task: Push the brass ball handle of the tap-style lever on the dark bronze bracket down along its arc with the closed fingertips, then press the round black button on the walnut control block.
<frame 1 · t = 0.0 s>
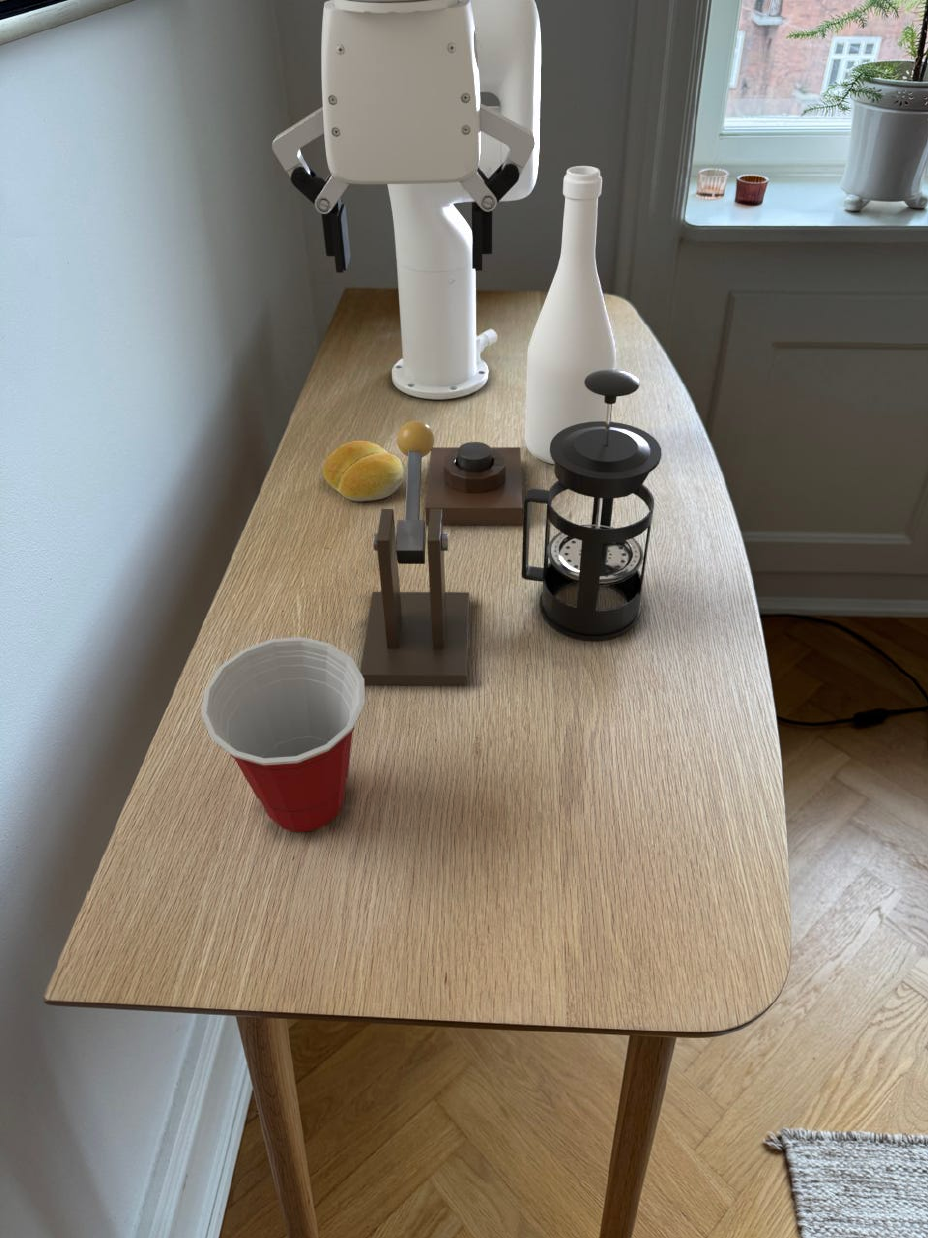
hand: (410, 264, 66), 31 cm above the table, tool pointing down, fingers open, 9 cm apart
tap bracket: (417, 641, 82), on the table
wine bottle: (565, 448, 106), on the table
tap lever: (413, 488, 76), point 13 cm above the table, hinge at 25.0°
button: (474, 457, 96), point 4 cm above the table, slide at 0.1 cm
bread roll: (364, 483, 102), on the table
plastic cup: (306, 805, 68), on the table
button block: (475, 493, 99), on the table
french press: (584, 608, 85), on the table
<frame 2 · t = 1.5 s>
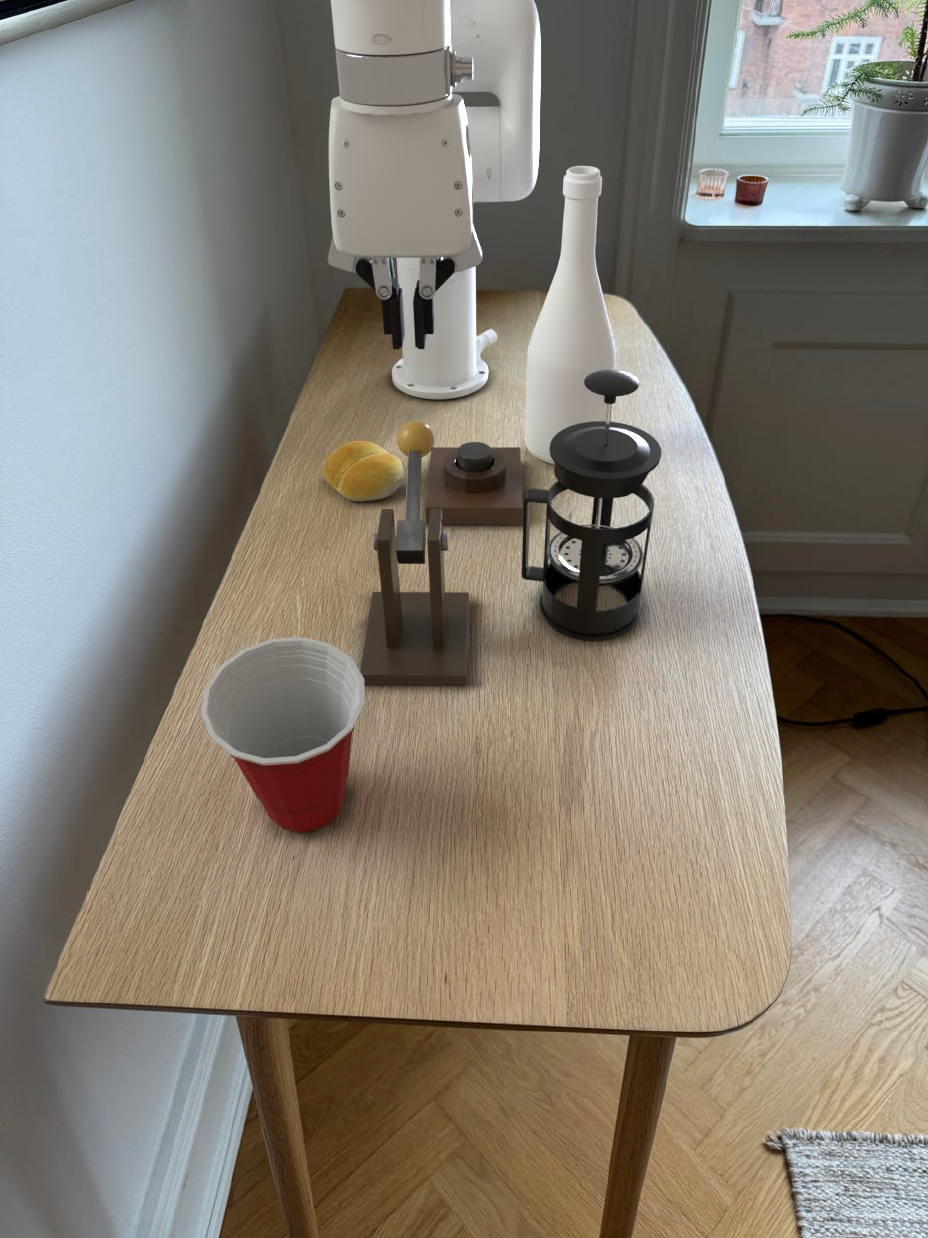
hand: (410, 340, 73), 24 cm above the table, tool pointing down, fingers closed
nothing on the table moved.
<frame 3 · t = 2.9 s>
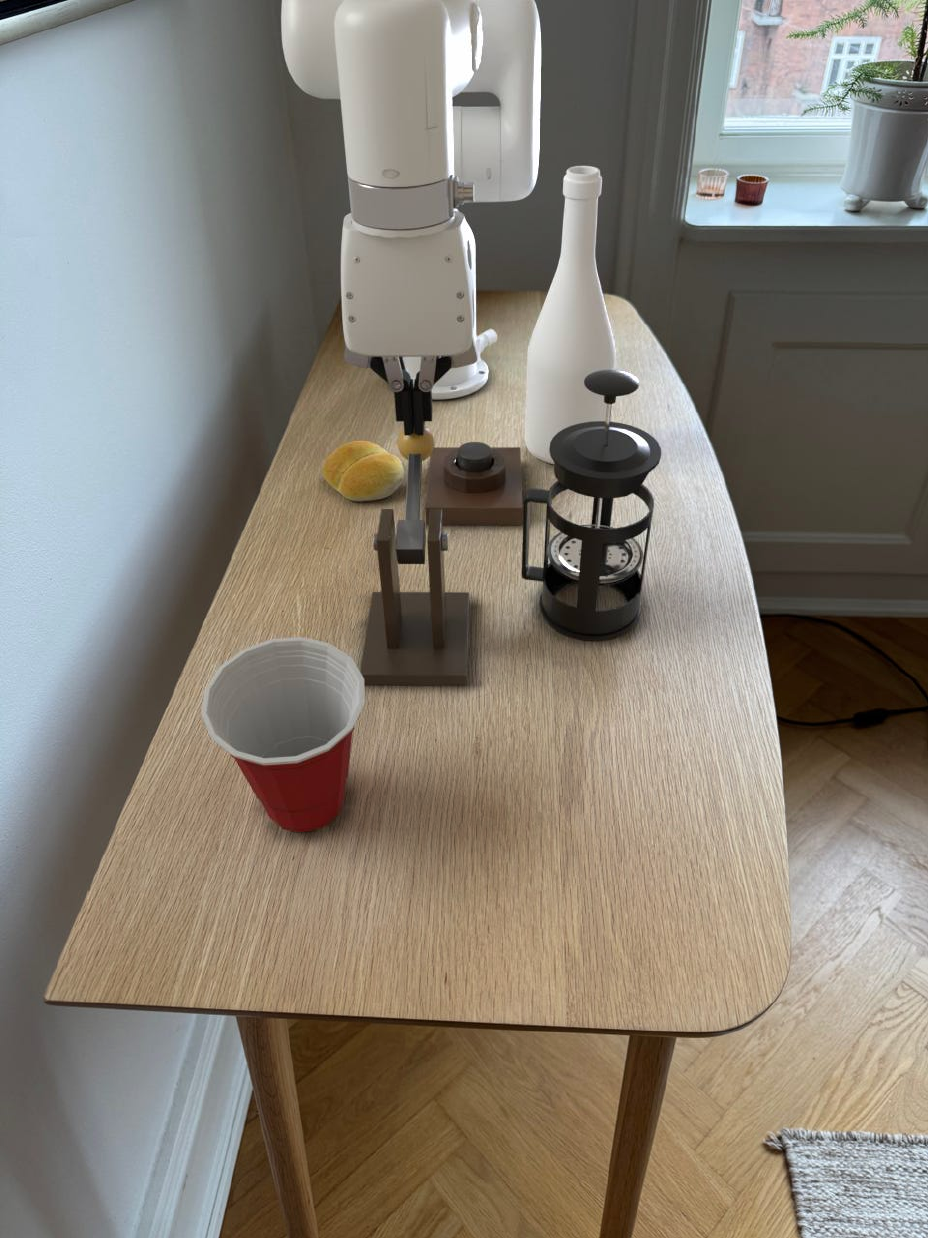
hand: (415, 427, 78), 16 cm above the table, tool pointing down, fingers closed
tap lever: (413, 490, 77), point 13 cm above the table, hinge at 21.8°, touching gripper
everything else where it was.
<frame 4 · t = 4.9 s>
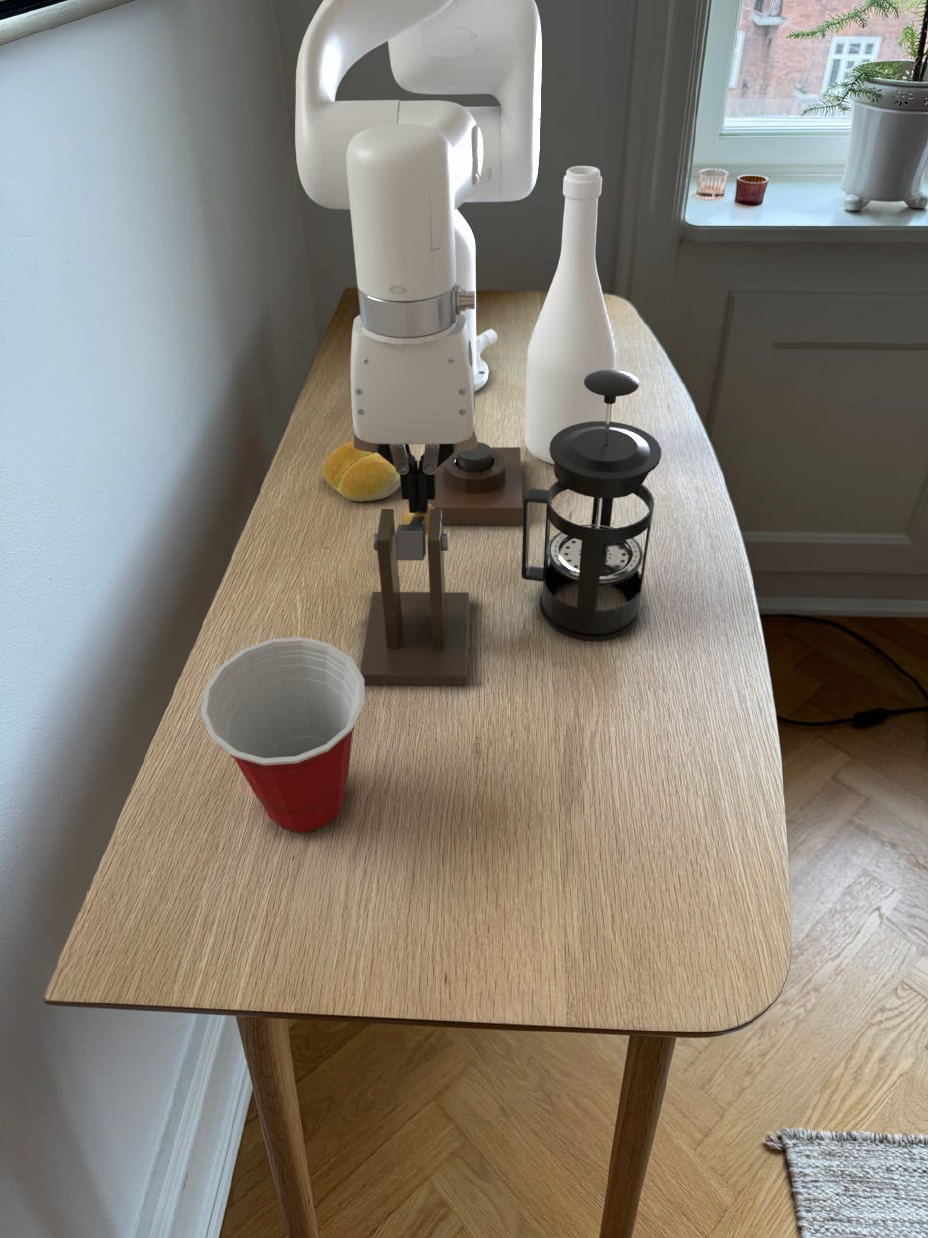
hand: (419, 504, 83), 9 cm above the table, tool pointing down, fingers closed
tap lever: (416, 529, 79), point 9 cm above the table, hinge at -23.8°, touching gripper
everything else where it was.
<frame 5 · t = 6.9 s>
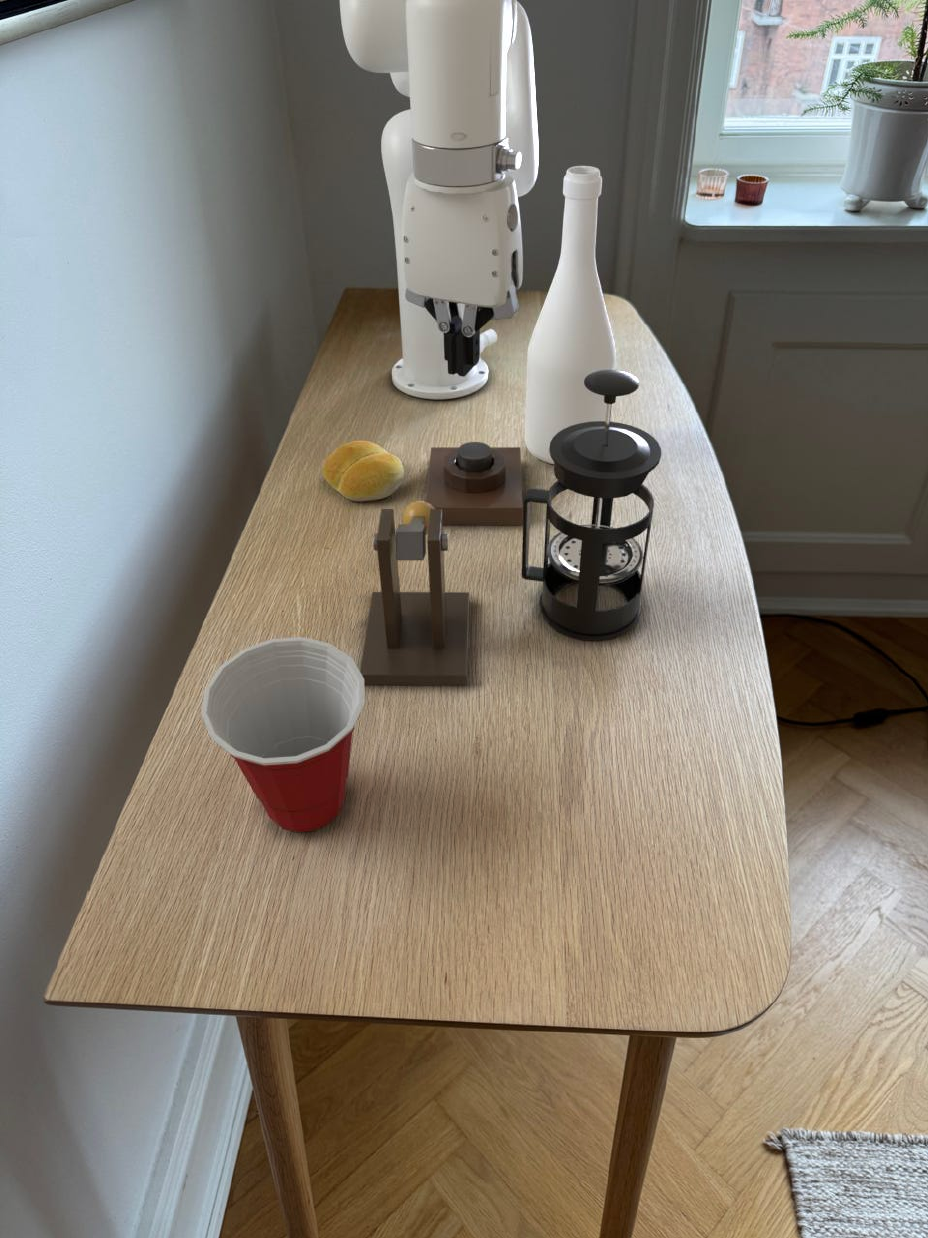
hand: (462, 368, 87), 16 cm above the table, tool pointing down, fingers closed
tap lever: (416, 529, 79), point 9 cm above the table, hinge at -23.8°
everything else where it was.
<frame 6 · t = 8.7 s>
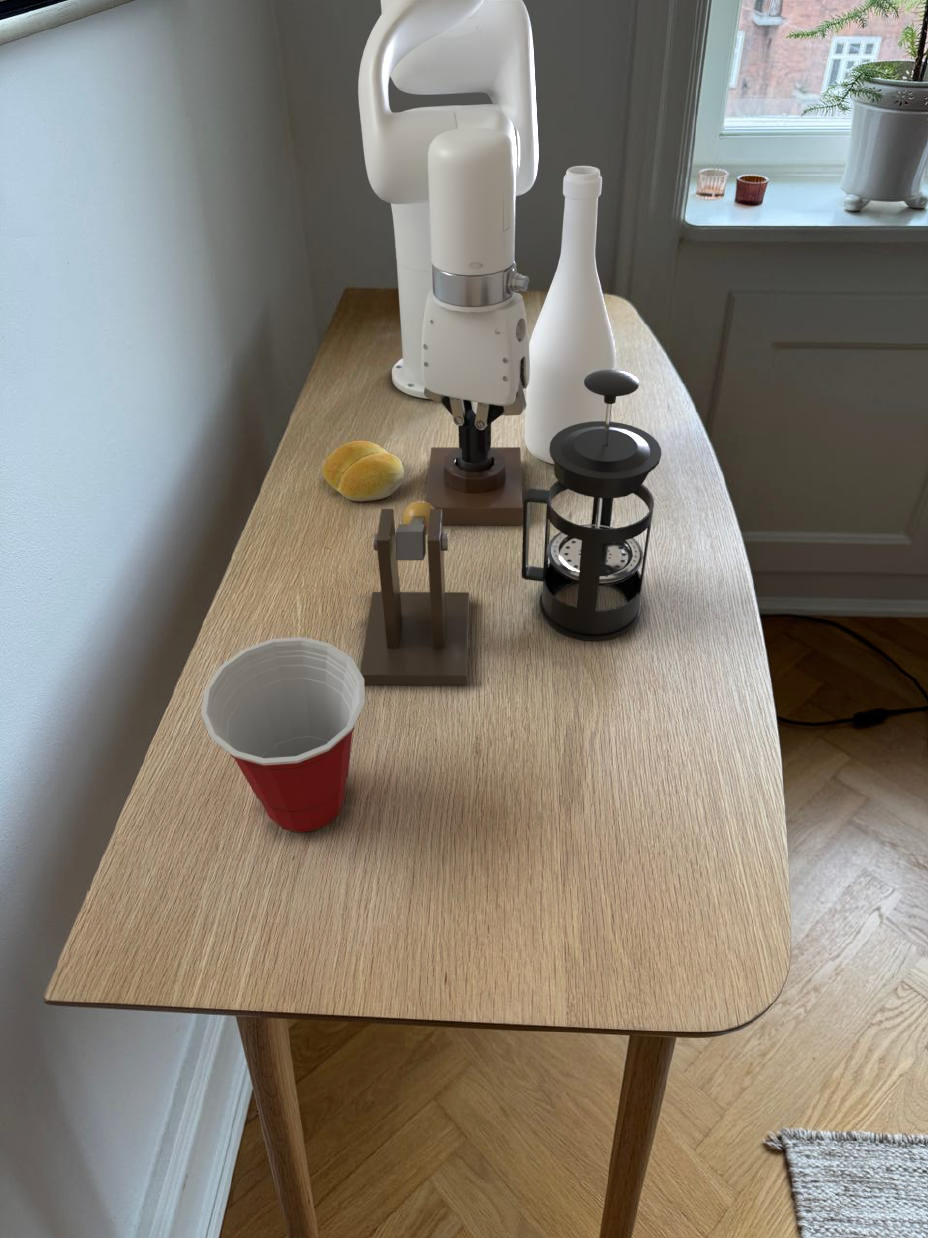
hand: (475, 455, 96), 5 cm above the table, tool pointing down, fingers closed
button: (474, 461, 97), point 4 cm above the table, slide at -0.4 cm, touching gripper
everything else where it was.
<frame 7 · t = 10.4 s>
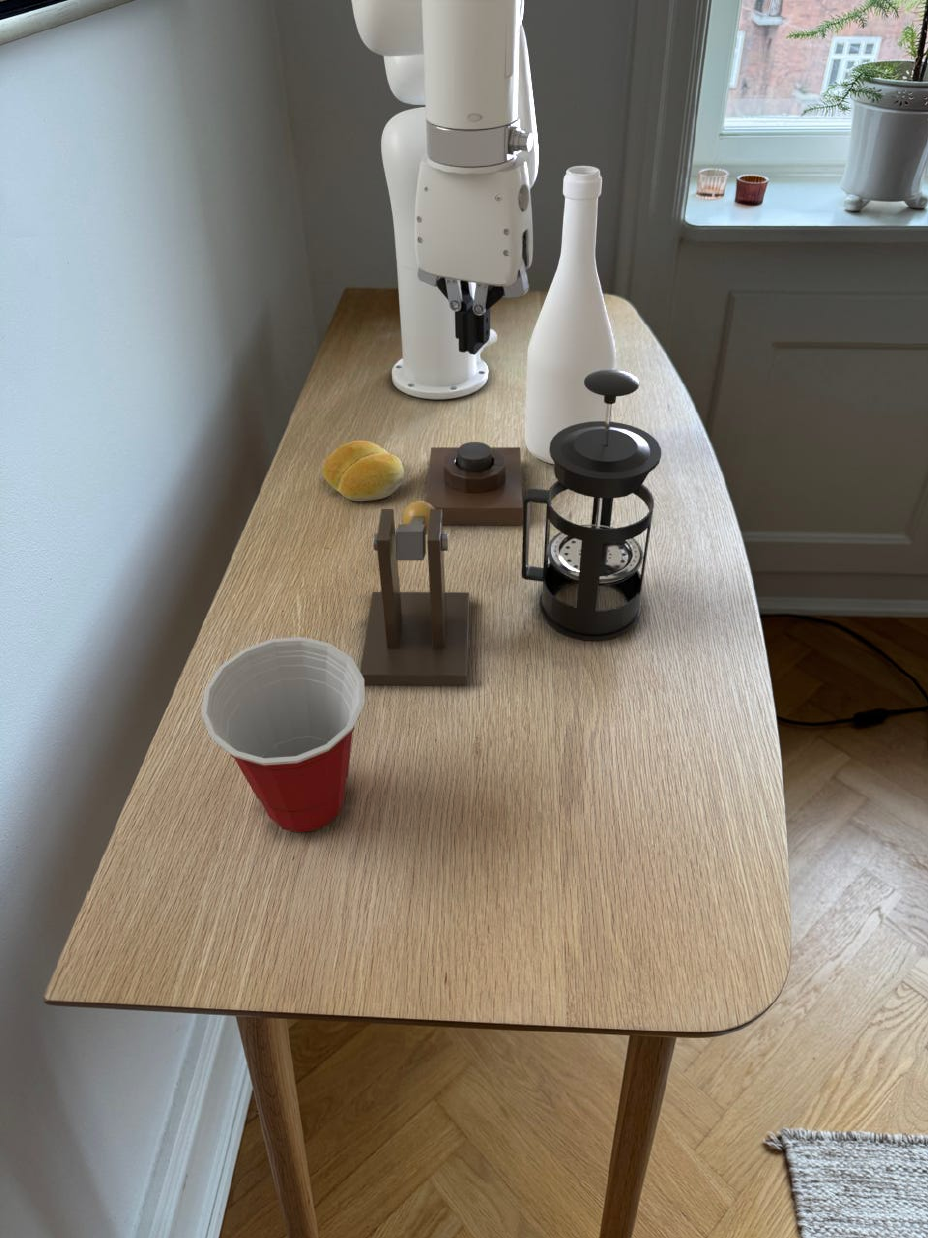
hand: (472, 346, 89), 17 cm above the table, tool pointing down, fingers closed
button: (474, 457, 96), point 4 cm above the table, slide at 0.1 cm
everything else where it was.
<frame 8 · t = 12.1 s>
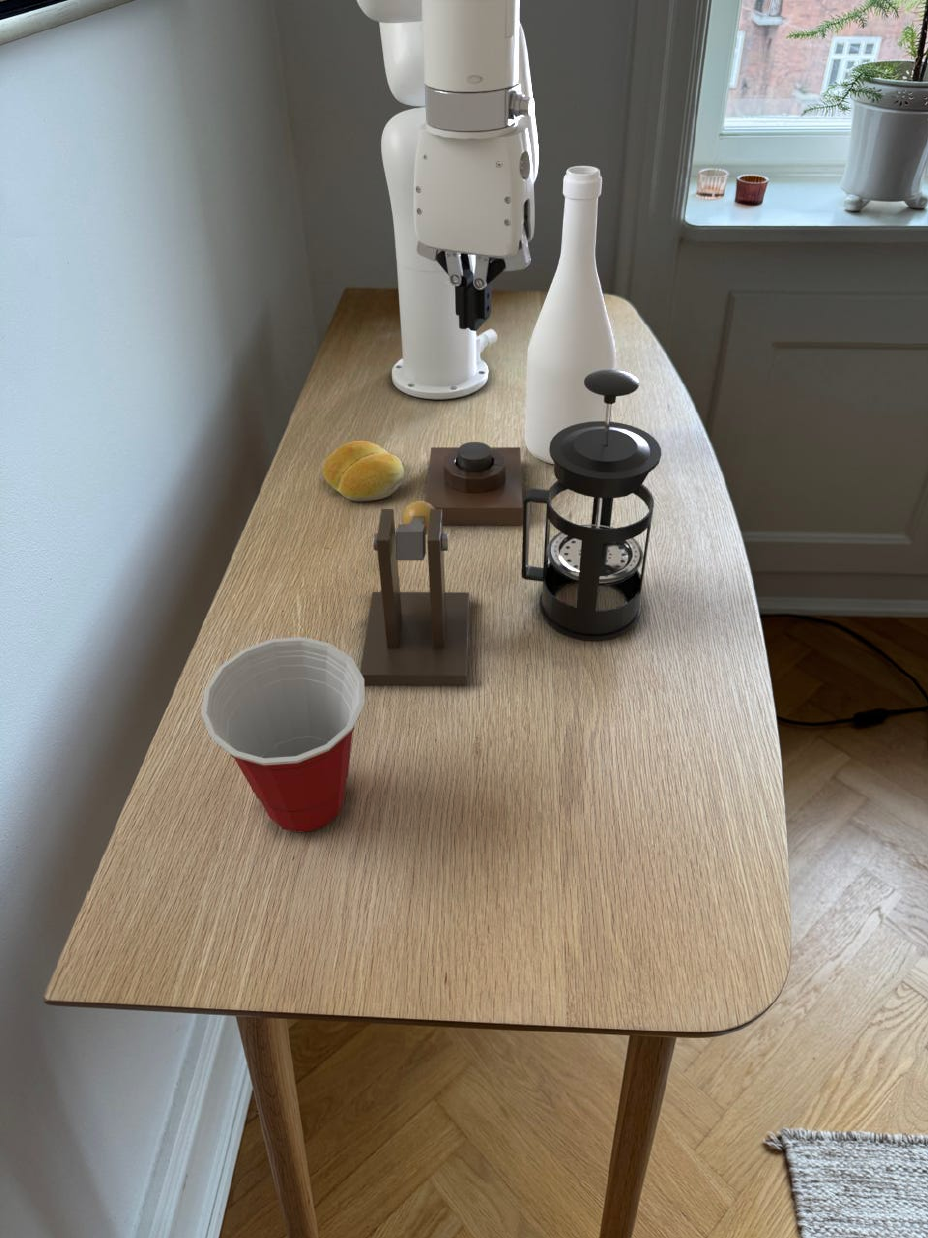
hand: (473, 323, 87), 19 cm above the table, tool pointing down, fingers closed
nothing on the table moved.
at the end: tap lever at -24° (first picture: +25°); button pushed in 1.1 cm at the most during the clip, back to where it started at the end; button slide at 0.1 cm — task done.
